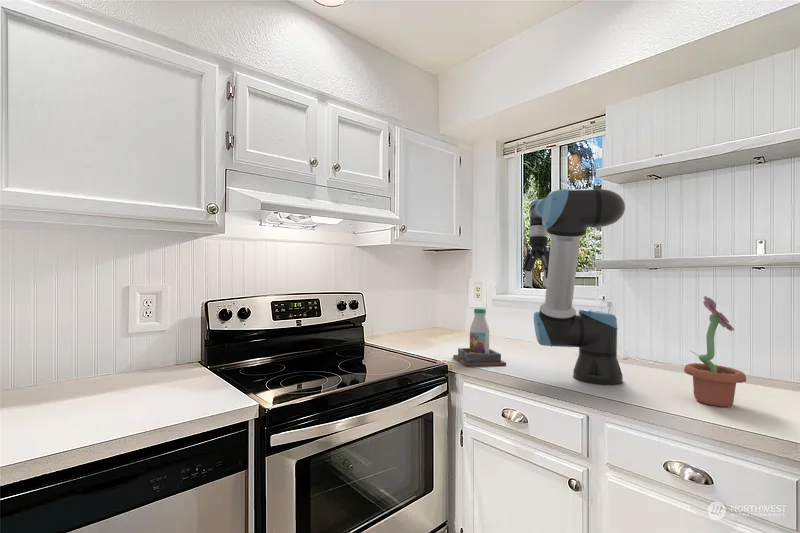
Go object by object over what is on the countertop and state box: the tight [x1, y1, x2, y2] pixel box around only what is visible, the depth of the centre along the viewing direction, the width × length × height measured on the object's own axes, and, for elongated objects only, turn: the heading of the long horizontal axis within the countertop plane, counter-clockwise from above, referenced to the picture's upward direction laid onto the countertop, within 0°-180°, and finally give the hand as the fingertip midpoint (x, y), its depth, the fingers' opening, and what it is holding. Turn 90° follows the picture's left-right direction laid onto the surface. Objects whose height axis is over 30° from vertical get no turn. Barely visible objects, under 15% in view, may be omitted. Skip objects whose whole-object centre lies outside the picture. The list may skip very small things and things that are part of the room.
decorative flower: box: [683, 296, 747, 408], centre depth 113 cm, size 15×14×30 cm
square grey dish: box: [453, 347, 507, 368], centre depth 162 cm, size 16×16×4 cm
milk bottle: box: [469, 308, 490, 354], centre depth 162 cm, size 8×8×20 cm
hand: (537, 286), depth 172 cm, fingers open, 13 cm apart
